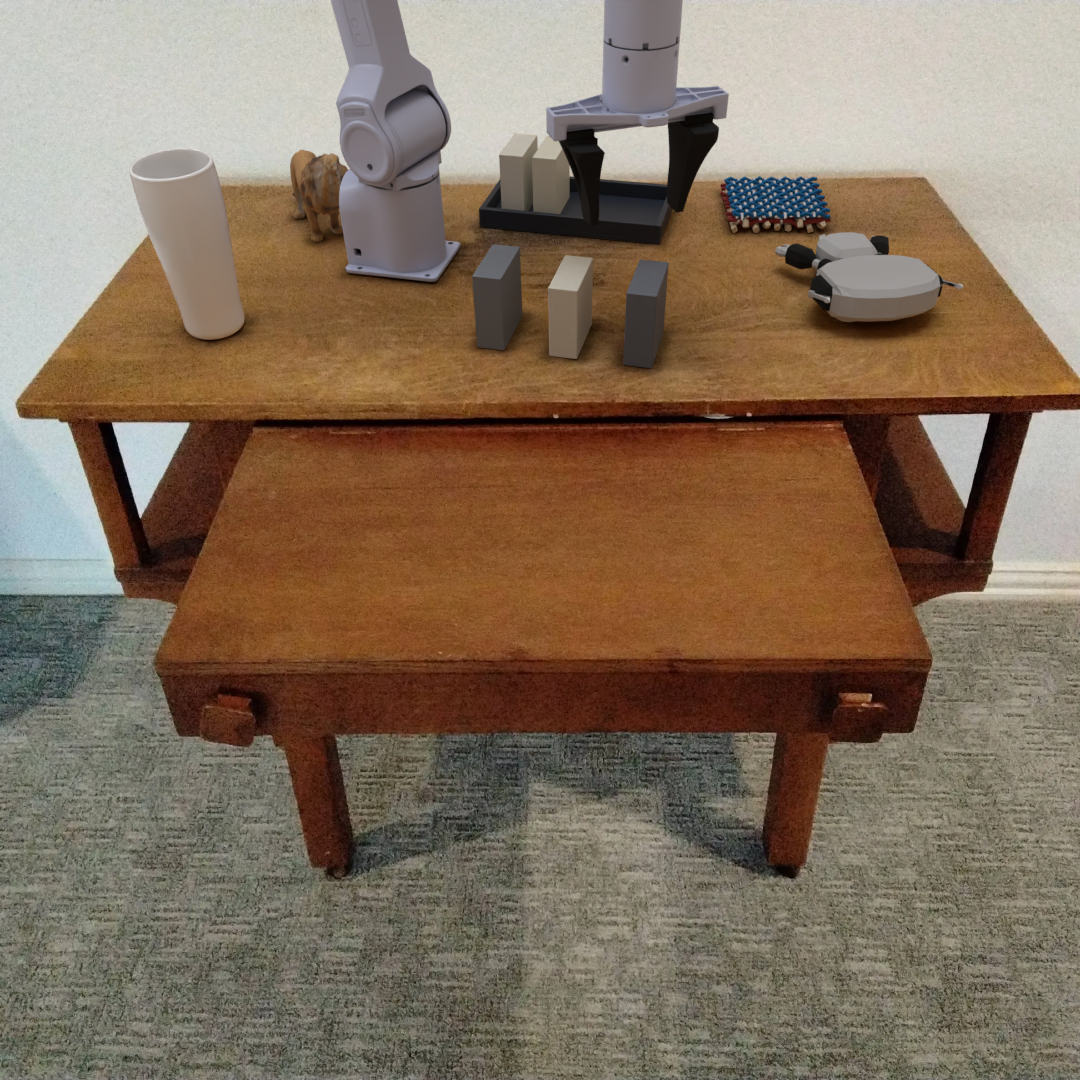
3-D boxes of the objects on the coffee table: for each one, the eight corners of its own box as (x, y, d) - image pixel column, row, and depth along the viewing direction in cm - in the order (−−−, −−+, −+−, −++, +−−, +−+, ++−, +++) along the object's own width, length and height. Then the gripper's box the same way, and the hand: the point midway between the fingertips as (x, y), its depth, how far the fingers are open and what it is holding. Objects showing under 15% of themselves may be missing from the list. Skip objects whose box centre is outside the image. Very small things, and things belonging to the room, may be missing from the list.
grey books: (477, 347, 85) (471, 276, 80) (496, 313, 89) (492, 243, 85) (652, 368, 82) (657, 296, 77) (663, 332, 86) (668, 261, 82)
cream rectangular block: (548, 356, 84) (547, 287, 79) (565, 321, 88) (564, 254, 84) (577, 359, 83) (577, 290, 79) (592, 324, 87) (593, 257, 83)
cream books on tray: (501, 215, 103) (498, 154, 99) (517, 192, 108) (514, 133, 103) (556, 220, 102) (555, 159, 98) (569, 197, 106) (569, 137, 102)
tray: (479, 227, 103) (478, 208, 101) (506, 188, 110) (505, 170, 108) (659, 244, 99) (661, 225, 97) (675, 203, 106) (676, 185, 105)
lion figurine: (373, 242, 100) (360, 155, 94) (325, 256, 98) (309, 168, 92) (315, 194, 110) (300, 112, 103) (271, 206, 107) (253, 122, 101)
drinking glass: (218, 354, 85) (170, 186, 75) (162, 335, 88) (108, 170, 77) (269, 319, 89) (231, 155, 79) (214, 302, 92) (170, 141, 82)
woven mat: (717, 191, 108) (719, 173, 107) (813, 191, 107) (816, 173, 106) (726, 233, 100) (728, 214, 99) (830, 233, 100) (834, 214, 98)
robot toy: (763, 275, 95) (823, 344, 84) (769, 230, 92) (831, 295, 81) (882, 263, 97) (957, 330, 85) (891, 218, 94) (969, 281, 82)
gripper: (566, 66, 68) (566, 247, 78) (753, 43, 71) (732, 220, 80) (536, 38, 73) (540, 211, 82) (713, 18, 76) (697, 187, 85)
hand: (633, 214), depth 82 cm, fingers open, 7 cm apart
